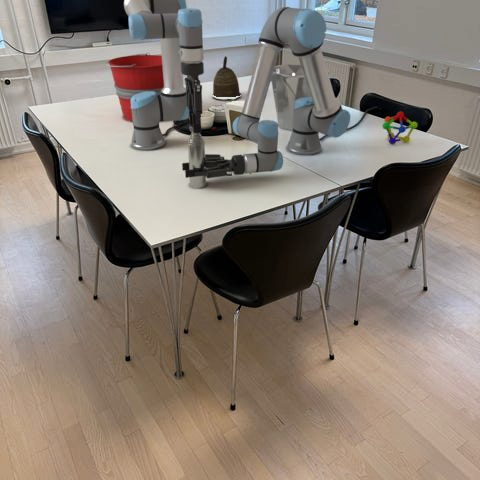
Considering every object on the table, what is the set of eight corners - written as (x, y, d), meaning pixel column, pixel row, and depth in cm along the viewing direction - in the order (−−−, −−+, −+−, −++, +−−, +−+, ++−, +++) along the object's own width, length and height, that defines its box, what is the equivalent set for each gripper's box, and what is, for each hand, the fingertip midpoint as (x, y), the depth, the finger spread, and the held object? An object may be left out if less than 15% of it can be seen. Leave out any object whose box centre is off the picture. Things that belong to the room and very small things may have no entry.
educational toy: (377, 146, 209) (379, 114, 202) (384, 138, 219) (386, 107, 211) (411, 149, 202) (415, 116, 195) (417, 141, 212) (420, 109, 204)
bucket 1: (122, 106, 262) (115, 52, 246) (181, 107, 261) (178, 52, 245) (105, 124, 232) (96, 64, 216) (172, 125, 231) (167, 64, 216)
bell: (227, 105, 294) (202, 96, 282) (238, 66, 289) (213, 55, 277) (243, 108, 280) (217, 98, 268) (255, 66, 275) (229, 55, 263)
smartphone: (201, 167, 182) (204, 154, 195) (201, 169, 182) (204, 155, 195) (218, 167, 182) (220, 154, 195) (218, 169, 182) (220, 155, 195)
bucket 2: (296, 138, 215) (301, 78, 201) (255, 124, 234) (256, 68, 219) (335, 125, 232) (342, 70, 217) (294, 113, 251) (297, 61, 236)
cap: (187, 129, 159) (187, 124, 158) (198, 127, 161) (198, 123, 160) (192, 132, 156) (192, 128, 155) (203, 131, 158) (203, 126, 157)
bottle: (205, 188, 167) (202, 130, 155) (189, 187, 167) (185, 130, 156) (207, 181, 172) (204, 125, 161) (191, 181, 173) (188, 124, 161)
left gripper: (174, 57, 152) (179, 124, 164) (187, 67, 138) (191, 139, 151) (196, 56, 154) (198, 122, 167) (210, 65, 141) (212, 136, 153)
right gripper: (250, 183, 165) (188, 190, 159) (236, 164, 180) (180, 169, 175) (250, 164, 161) (187, 170, 155) (236, 146, 176) (179, 151, 171)
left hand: (195, 130), depth 159 cm, fingers closed on cap, 4 cm apart
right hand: (184, 170), depth 165 cm, fingers closed on bottle, 6 cm apart
